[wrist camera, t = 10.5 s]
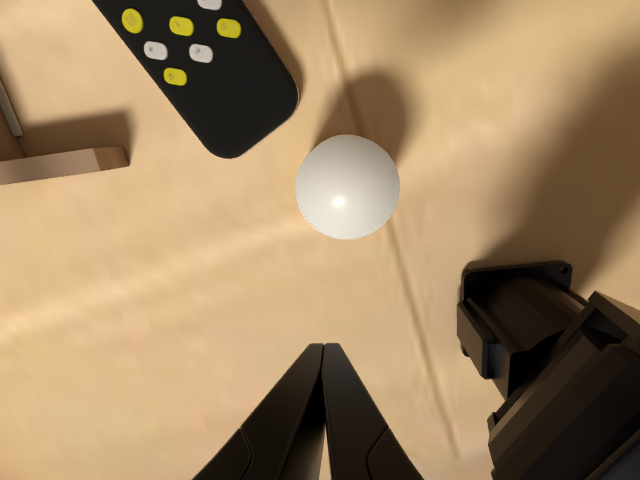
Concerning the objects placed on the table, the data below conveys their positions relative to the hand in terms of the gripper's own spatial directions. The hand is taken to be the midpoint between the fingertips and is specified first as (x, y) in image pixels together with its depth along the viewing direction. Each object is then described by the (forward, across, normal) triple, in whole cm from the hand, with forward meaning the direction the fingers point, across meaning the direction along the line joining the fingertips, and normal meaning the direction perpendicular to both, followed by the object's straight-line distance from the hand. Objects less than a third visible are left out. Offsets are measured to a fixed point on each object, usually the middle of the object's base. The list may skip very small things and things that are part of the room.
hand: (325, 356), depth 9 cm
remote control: (+12, +7, -12) cm, 18 cm away
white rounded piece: (+12, -1, -3) cm, 12 cm away
